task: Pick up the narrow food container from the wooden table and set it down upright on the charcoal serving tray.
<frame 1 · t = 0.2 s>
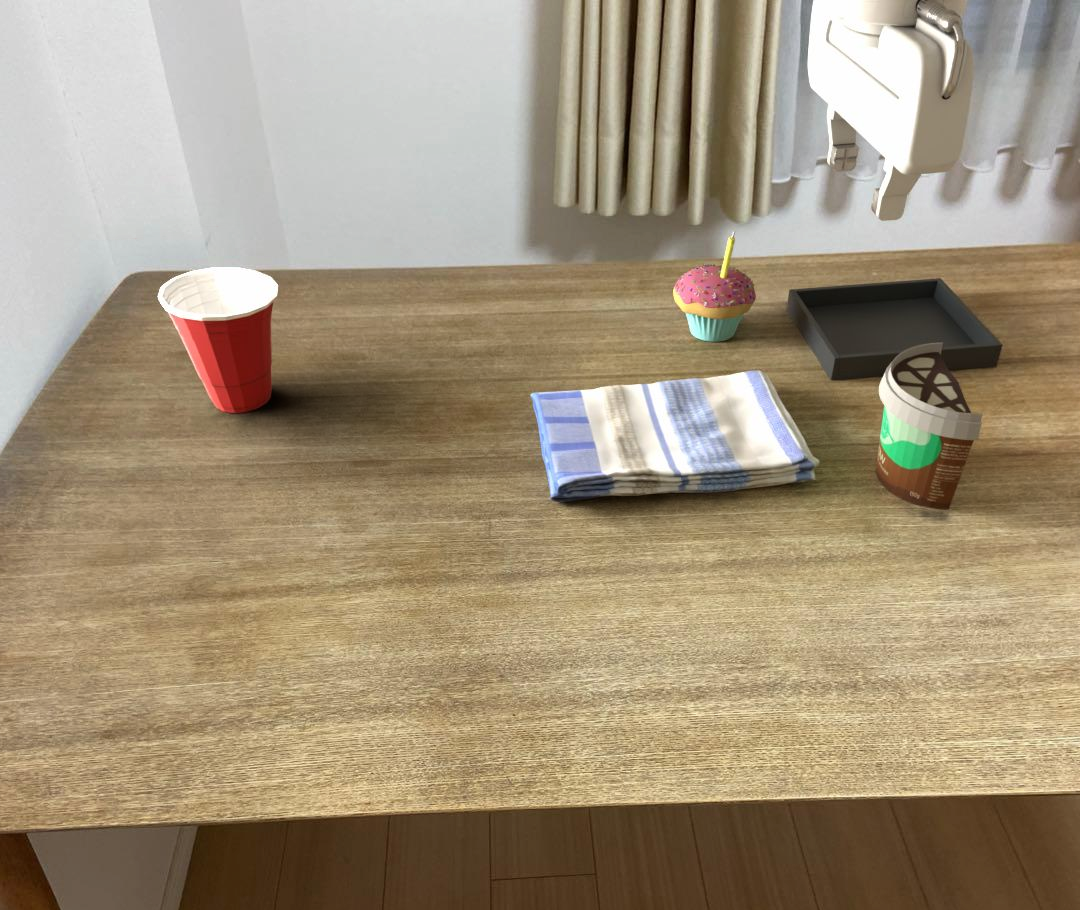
hand: (862, 191, 75), 25 cm above the table, tool pointing down, fingers open, 8 cm apart
cupcake: (710, 333, 110), on the table
tray: (886, 337, 108), on the table
food container: (898, 478, 89), on the table
dish towel: (666, 444, 94), on the table
plastic cup: (245, 399, 102), on the table
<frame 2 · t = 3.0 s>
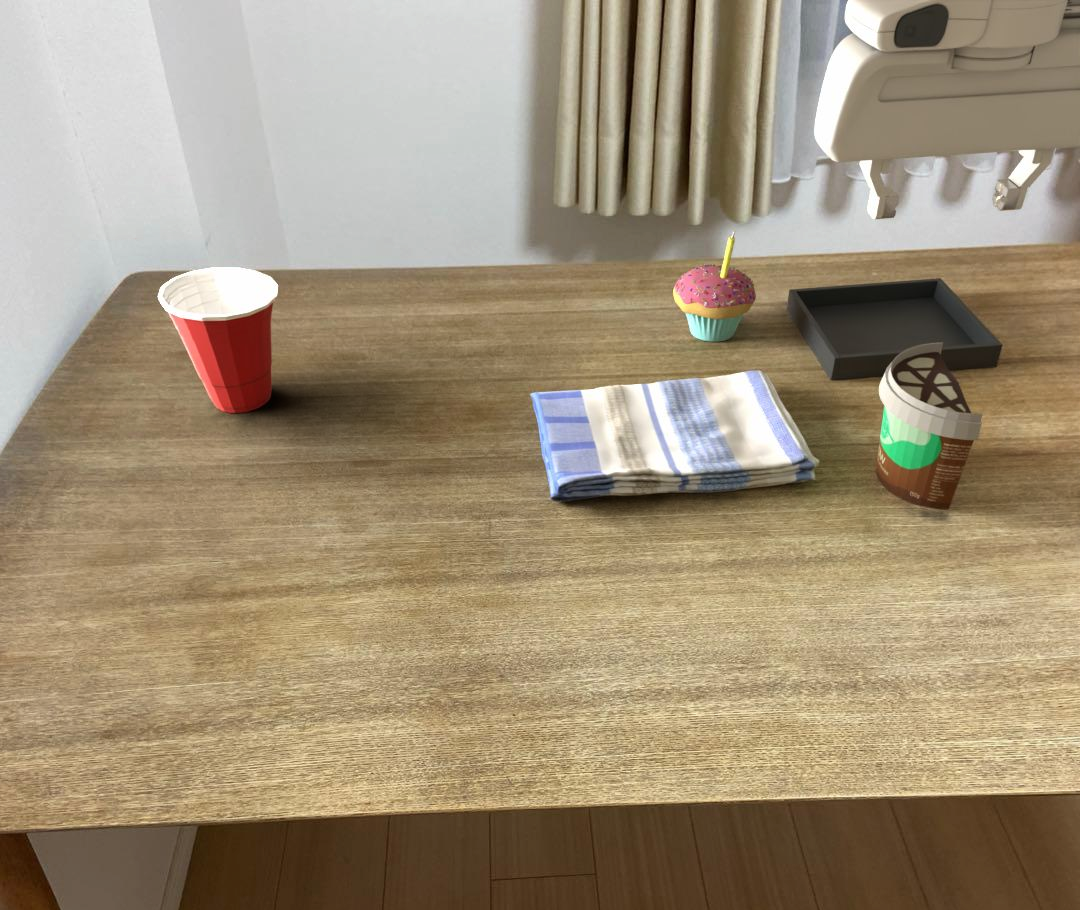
hand: (943, 211, 74), 24 cm above the table, tool pointing down, fingers open, 8 cm apart
nothing on the table moved.
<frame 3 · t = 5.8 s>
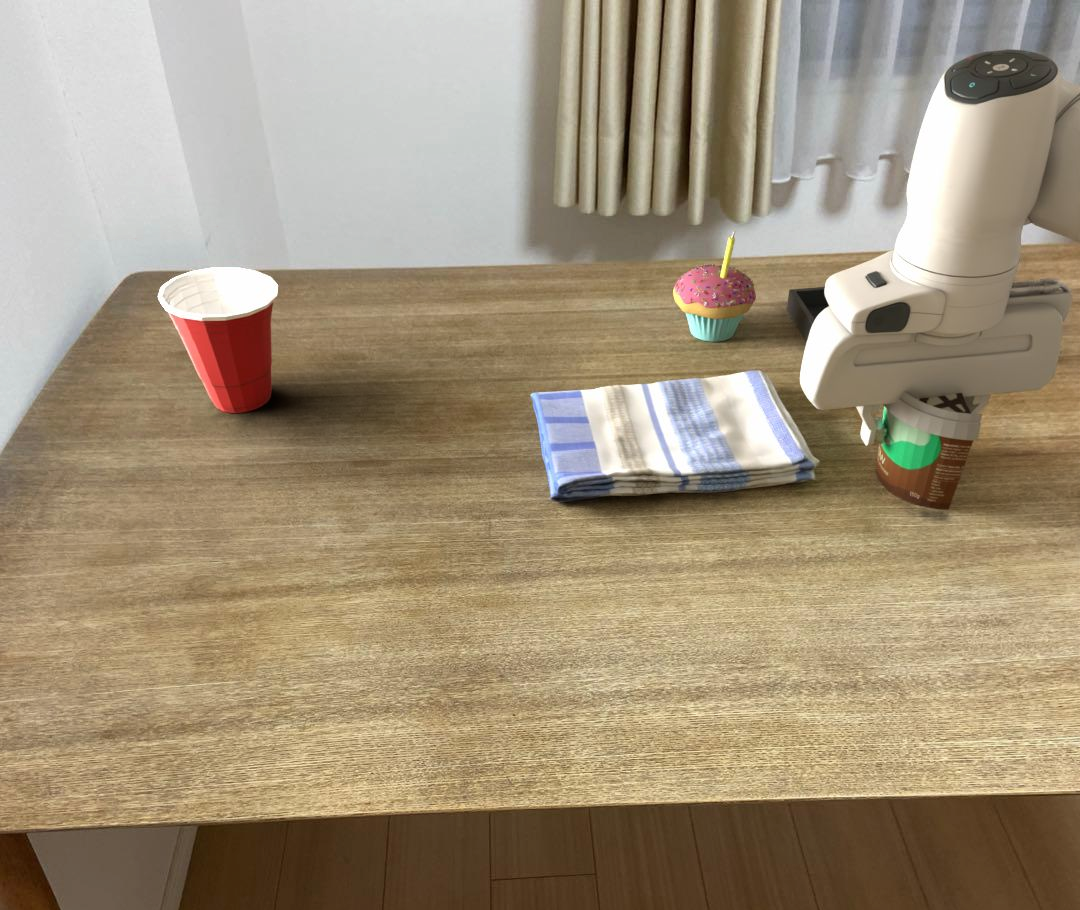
hand: (911, 437, 87), 4 cm above the table, tool pointing down, fingers closed on food container, 6 cm apart
food container: (898, 478, 89), on the table, touching gripper
everything else where it was.
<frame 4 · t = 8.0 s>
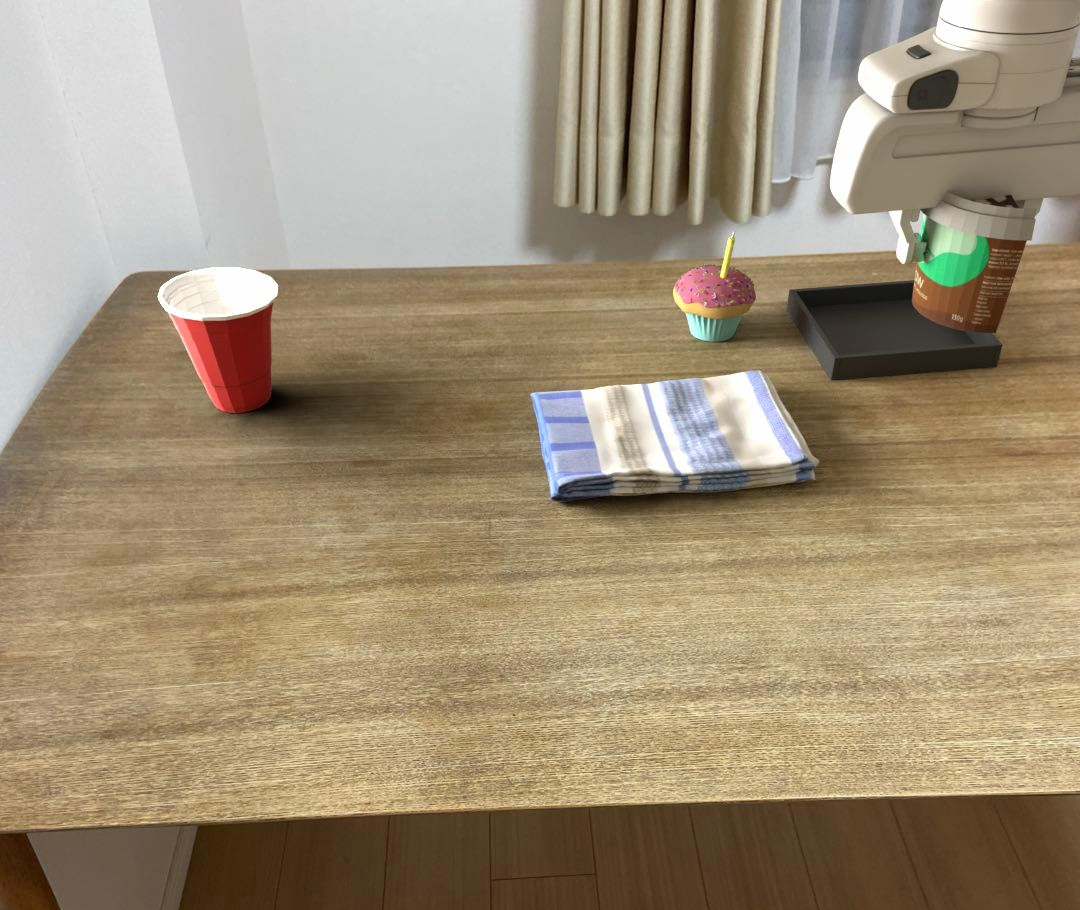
hand: (952, 256, 78), 20 cm above the table, tool pointing down, fingers closed on food container, 6 cm apart
food container: (937, 307, 81), point 15 cm above the table, touching gripper
everything else where it was.
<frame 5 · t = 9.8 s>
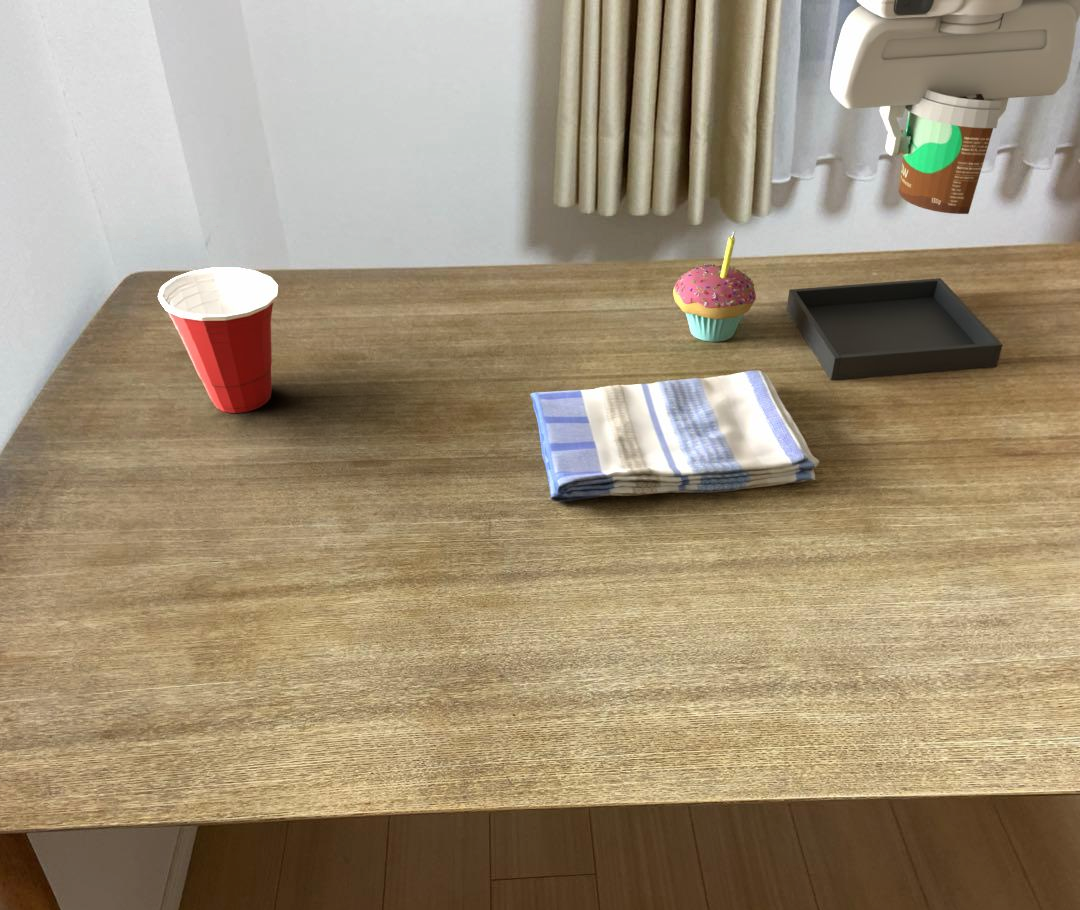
hand: (933, 150, 92), 21 cm above the table, tool pointing down, fingers closed on food container, 6 cm apart
food container: (919, 197, 95), point 16 cm above the table, touching gripper
everything else where it was.
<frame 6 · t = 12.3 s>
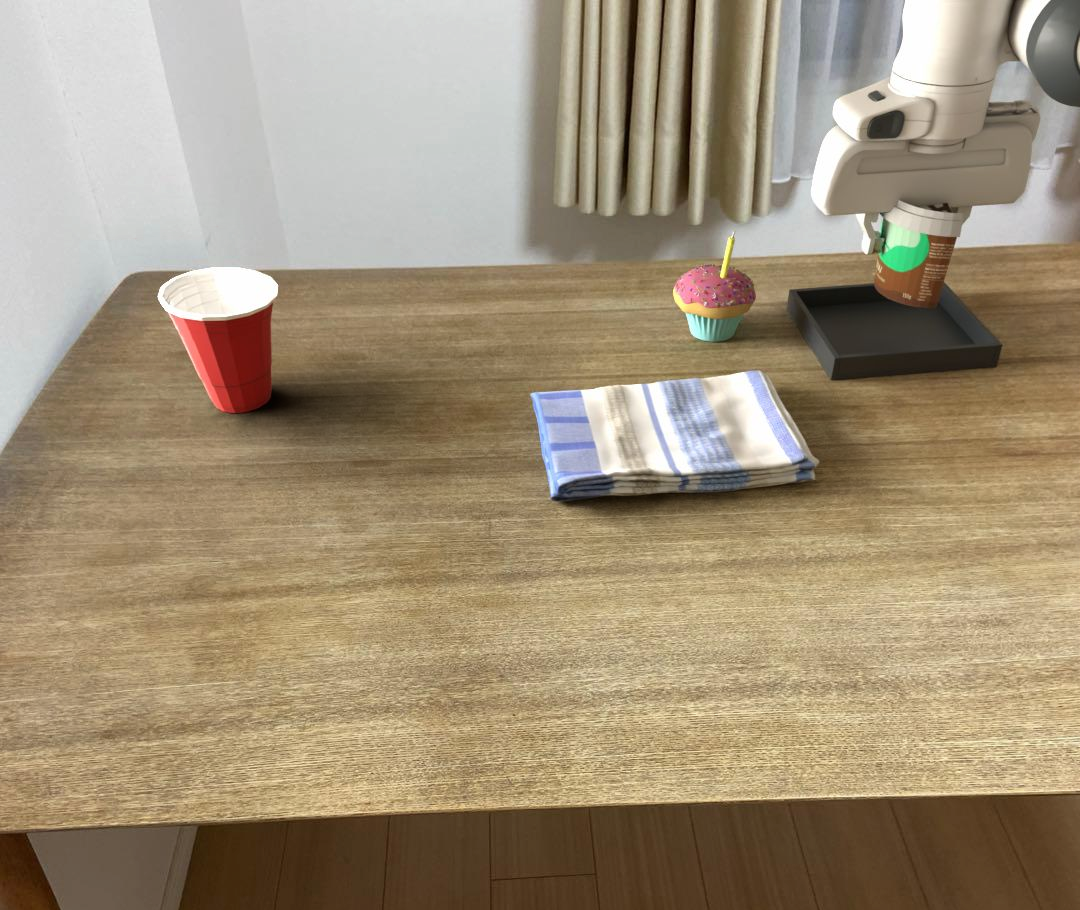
hand: (904, 249, 102), 10 cm above the table, tool pointing down, fingers closed on food container, 6 cm apart
food container: (893, 288, 104), point 6 cm above the table, touching gripper
everything else where it was.
when the fingers open (4 cm above the table, at t = 14.2 s): food container stays where it is, resting on tray.
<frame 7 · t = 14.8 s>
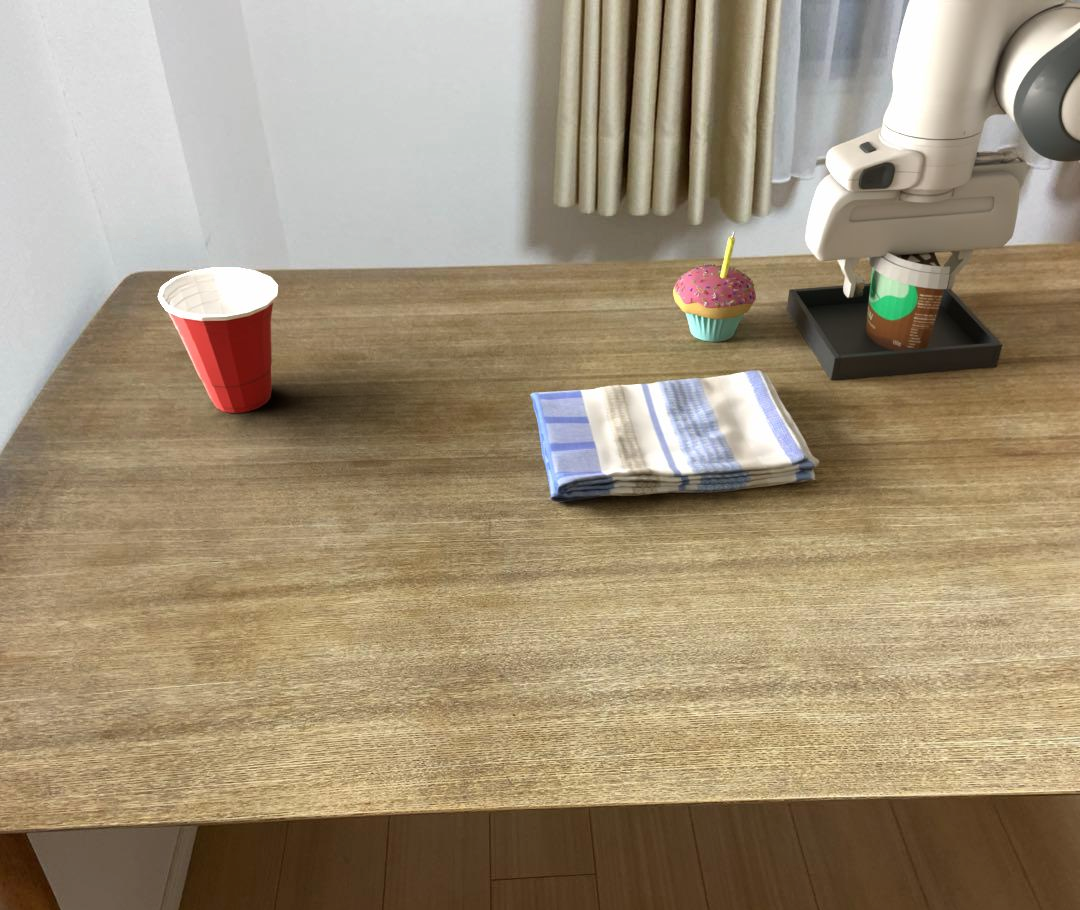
hand: (896, 291, 105), 5 cm above the table, tool pointing down, fingers open, 8 cm apart
food container: (884, 334, 108), resting on tray
everything else where it was.
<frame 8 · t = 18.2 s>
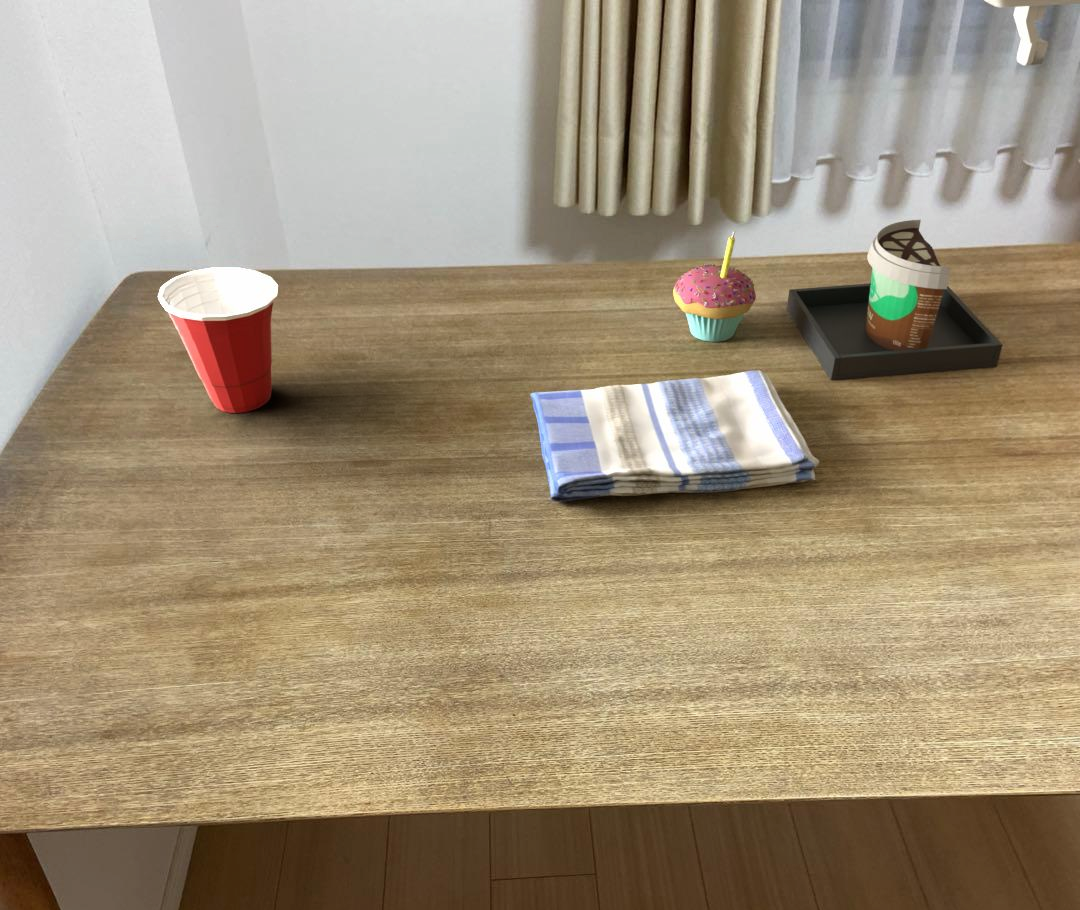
nothing on the table moved.
at the end: food container inside the target area in the tray (0.3 cm from its centre), point 0.3 cm above the tray's base; food container tilted 0°; the gripper is holding nothing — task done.
